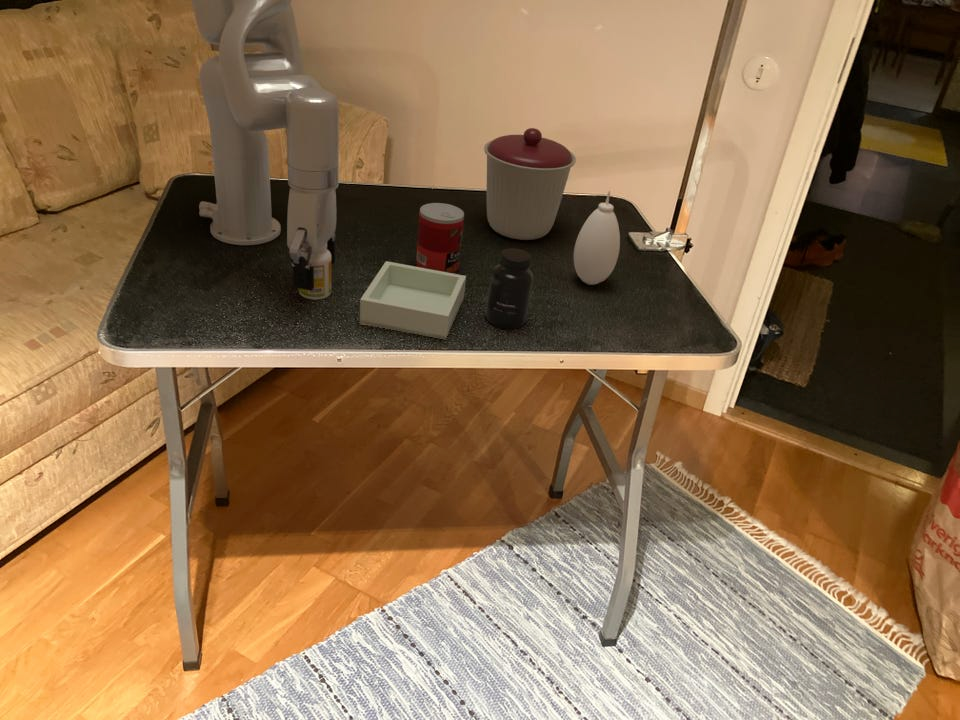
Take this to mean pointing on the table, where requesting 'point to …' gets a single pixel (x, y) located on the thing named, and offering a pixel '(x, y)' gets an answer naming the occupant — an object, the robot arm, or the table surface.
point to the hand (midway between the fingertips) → (314, 274)
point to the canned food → (439, 237)
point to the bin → (413, 300)
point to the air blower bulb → (597, 245)
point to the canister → (525, 183)
